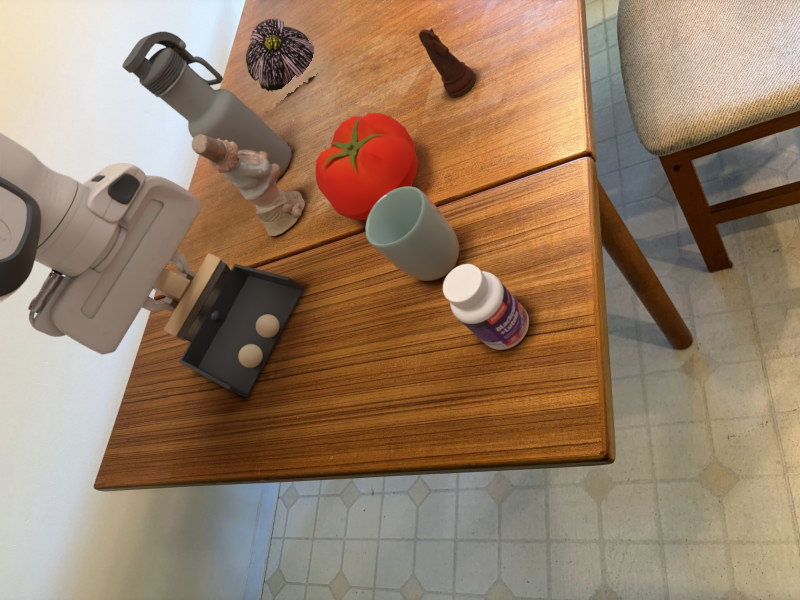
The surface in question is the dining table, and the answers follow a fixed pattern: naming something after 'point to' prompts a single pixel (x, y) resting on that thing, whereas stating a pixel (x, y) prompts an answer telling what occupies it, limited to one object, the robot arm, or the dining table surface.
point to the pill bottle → (485, 306)
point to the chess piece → (447, 65)
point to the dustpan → (241, 326)
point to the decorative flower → (277, 54)
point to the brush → (192, 296)
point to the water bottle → (202, 98)
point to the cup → (413, 234)
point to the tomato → (365, 163)
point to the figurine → (253, 181)
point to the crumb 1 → (250, 356)
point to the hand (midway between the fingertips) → (187, 294)
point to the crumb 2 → (267, 326)
